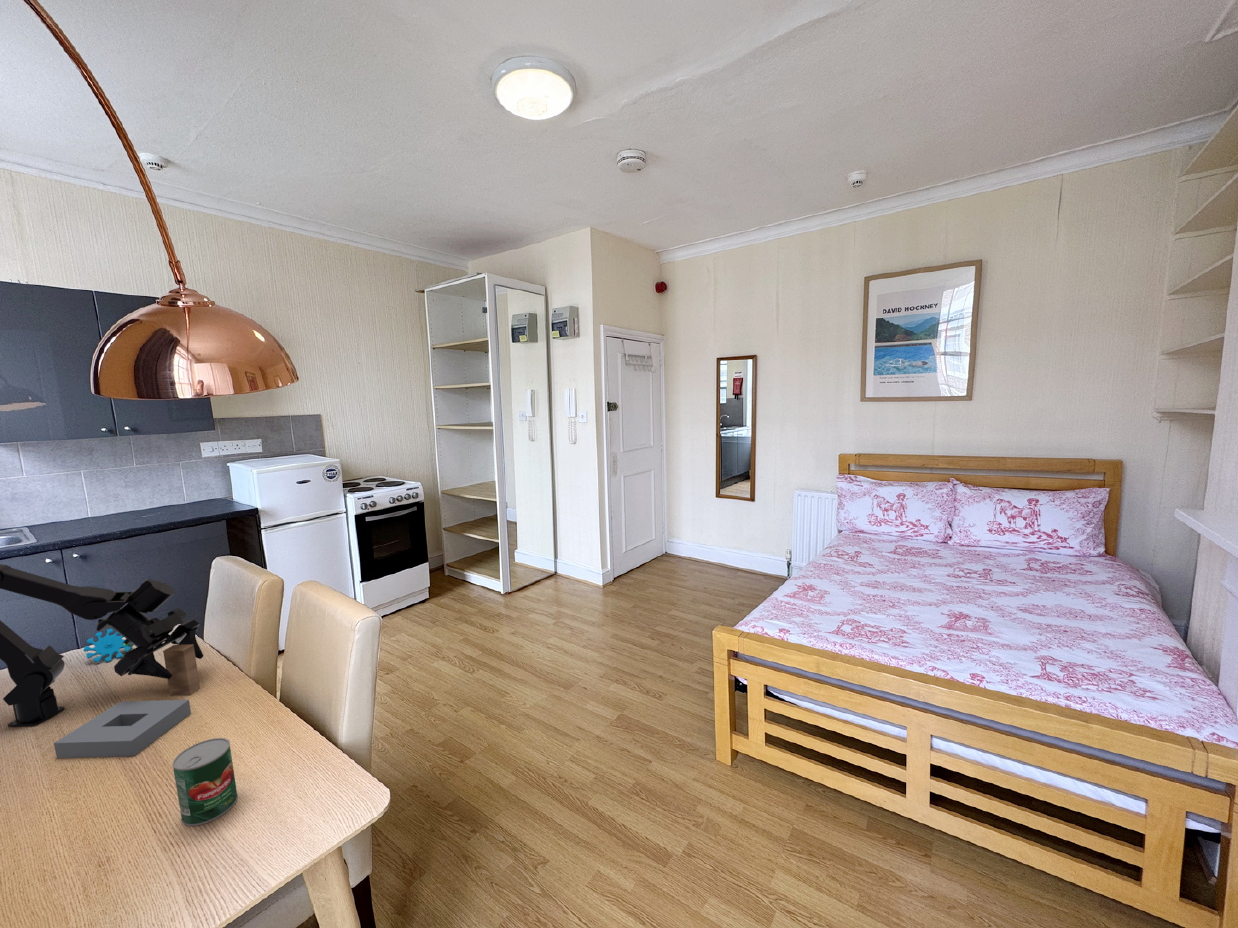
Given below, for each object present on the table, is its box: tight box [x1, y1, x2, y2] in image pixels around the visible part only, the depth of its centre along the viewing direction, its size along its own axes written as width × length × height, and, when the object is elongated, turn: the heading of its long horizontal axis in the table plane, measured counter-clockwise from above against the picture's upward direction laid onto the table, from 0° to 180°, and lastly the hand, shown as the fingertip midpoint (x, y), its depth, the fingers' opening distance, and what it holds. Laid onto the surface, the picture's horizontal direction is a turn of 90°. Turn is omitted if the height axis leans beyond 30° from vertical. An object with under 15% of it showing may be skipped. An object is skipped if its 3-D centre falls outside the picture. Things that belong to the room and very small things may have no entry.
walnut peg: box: [162, 644, 201, 697], centre depth 125 cm, size 5×3×12 cm, turn 91°
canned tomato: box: [171, 737, 239, 827], centre depth 89 cm, size 8×8×11 cm
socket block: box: [53, 699, 192, 759], centre depth 110 cm, size 16×14×4 cm
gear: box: [83, 628, 135, 663], centre depth 145 cm, size 11×6×10 cm
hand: (187, 667), depth 125 cm, fingers open, 9 cm apart
